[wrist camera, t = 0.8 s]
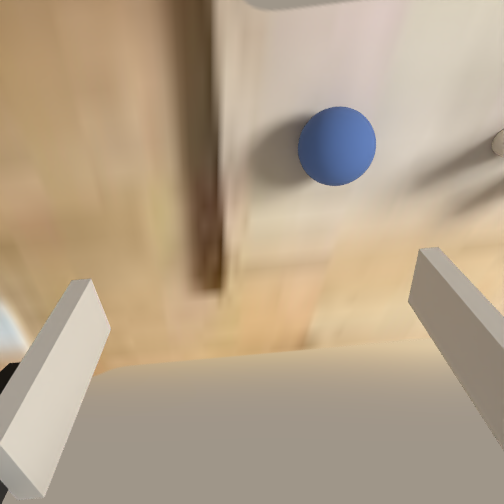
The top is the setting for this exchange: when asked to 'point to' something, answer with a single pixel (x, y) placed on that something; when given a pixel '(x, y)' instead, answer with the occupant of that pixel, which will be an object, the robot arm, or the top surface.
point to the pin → (498, 144)
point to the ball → (336, 146)
